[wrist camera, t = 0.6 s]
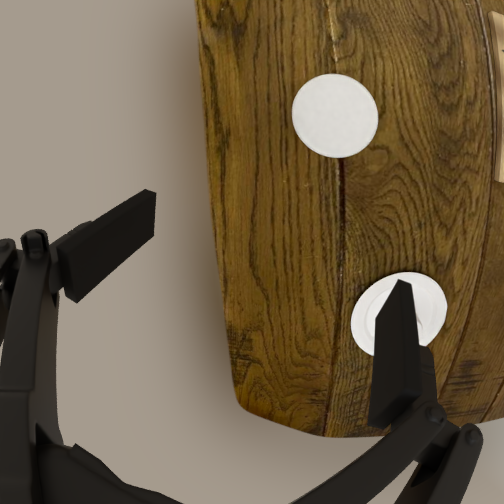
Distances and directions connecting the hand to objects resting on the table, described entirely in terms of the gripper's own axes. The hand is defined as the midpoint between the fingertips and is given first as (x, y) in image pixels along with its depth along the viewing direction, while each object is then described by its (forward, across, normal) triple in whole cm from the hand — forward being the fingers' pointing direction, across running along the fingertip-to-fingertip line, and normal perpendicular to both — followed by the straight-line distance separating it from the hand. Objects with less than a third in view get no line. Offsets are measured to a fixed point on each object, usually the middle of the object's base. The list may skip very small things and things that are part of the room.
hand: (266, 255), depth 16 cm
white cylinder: (+18, 0, +5) cm, 19 cm away
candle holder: (+17, +15, -13) cm, 26 cm away
